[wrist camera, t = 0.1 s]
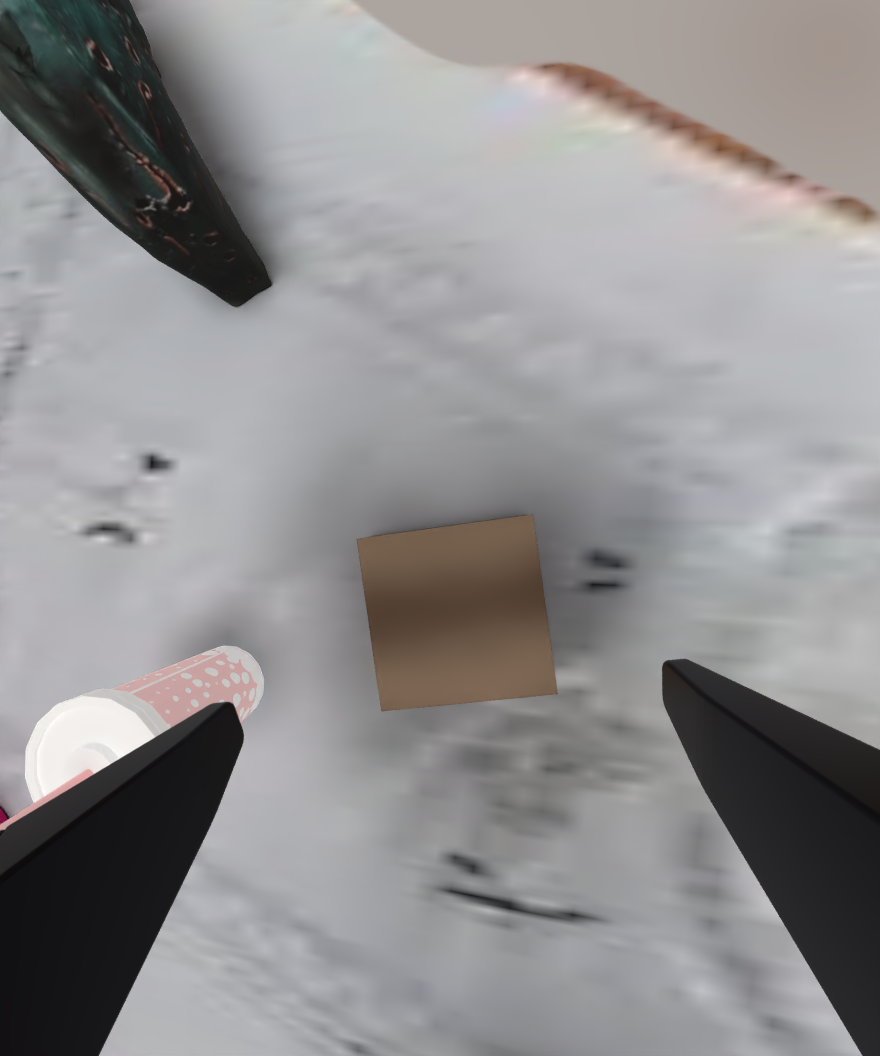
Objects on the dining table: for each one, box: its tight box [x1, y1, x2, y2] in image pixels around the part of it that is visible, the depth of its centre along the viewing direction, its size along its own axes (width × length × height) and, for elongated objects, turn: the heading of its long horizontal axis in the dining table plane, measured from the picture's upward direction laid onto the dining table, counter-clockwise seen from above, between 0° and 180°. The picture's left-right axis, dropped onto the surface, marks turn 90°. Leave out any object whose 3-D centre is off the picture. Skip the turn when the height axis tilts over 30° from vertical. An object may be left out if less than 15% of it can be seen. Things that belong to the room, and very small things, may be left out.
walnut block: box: [357, 515, 557, 711], centre depth 23 cm, size 9×9×3 cm
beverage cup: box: [0, 646, 264, 830], centre depth 18 cm, size 6×6×14 cm
